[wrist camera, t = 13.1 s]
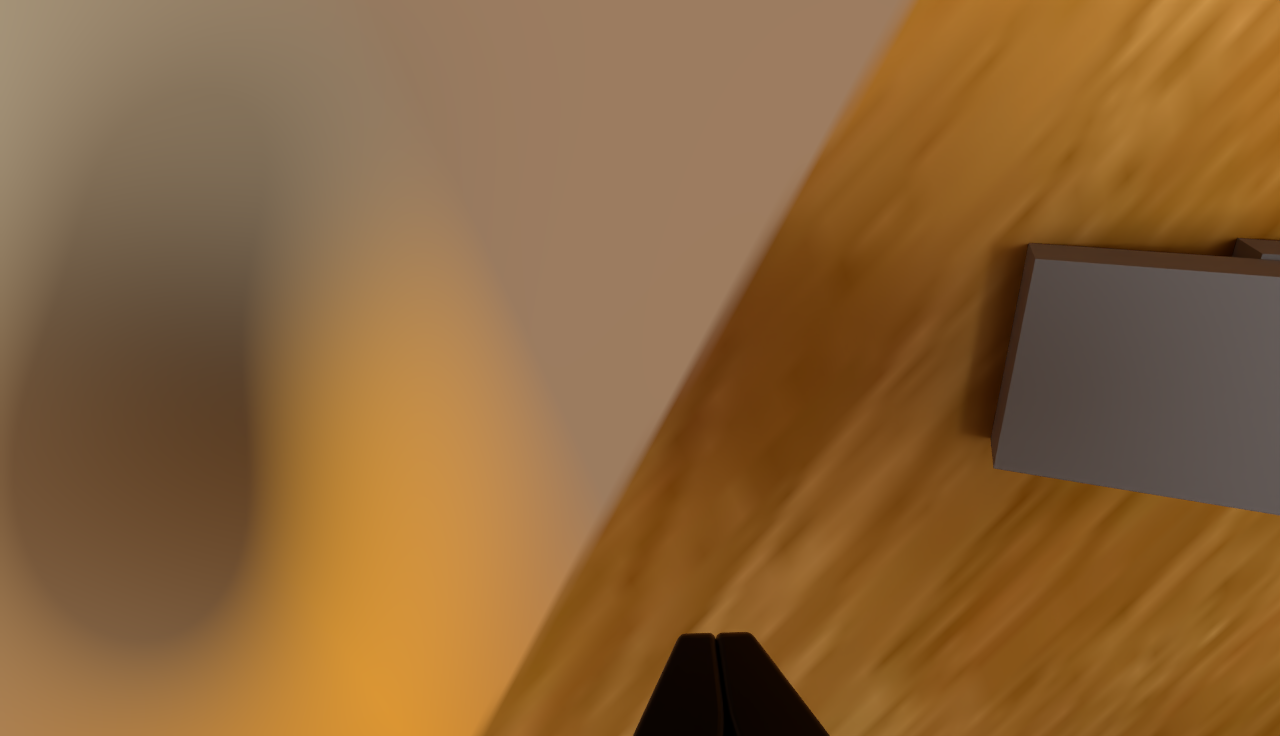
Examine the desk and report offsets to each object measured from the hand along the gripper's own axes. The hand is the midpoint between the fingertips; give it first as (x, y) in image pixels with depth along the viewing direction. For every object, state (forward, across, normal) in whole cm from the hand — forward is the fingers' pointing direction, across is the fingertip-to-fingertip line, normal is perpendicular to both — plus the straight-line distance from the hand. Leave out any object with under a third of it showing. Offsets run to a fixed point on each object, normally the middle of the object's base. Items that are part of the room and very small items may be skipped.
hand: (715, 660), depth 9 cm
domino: (+9, -8, 0) cm, 12 cm away
